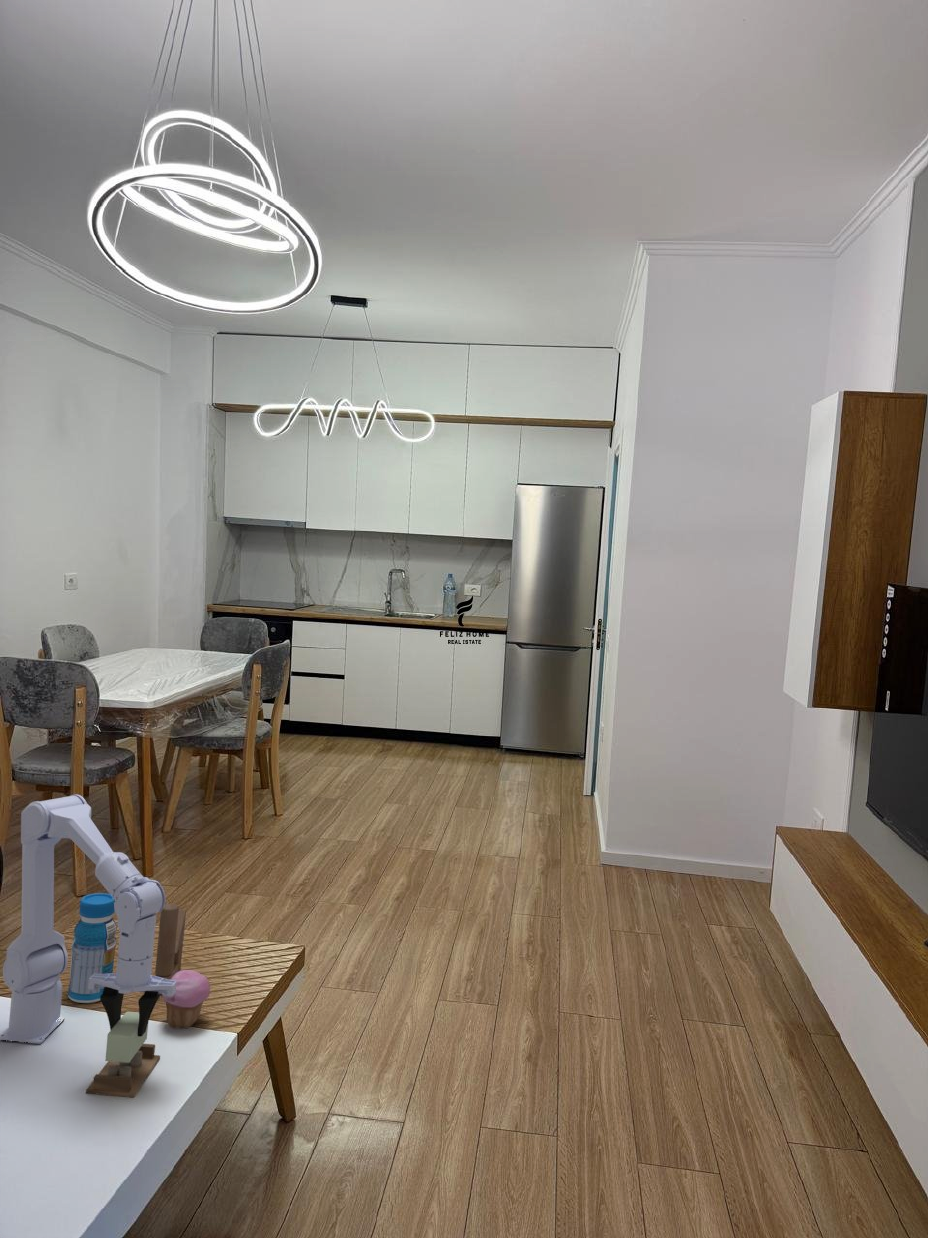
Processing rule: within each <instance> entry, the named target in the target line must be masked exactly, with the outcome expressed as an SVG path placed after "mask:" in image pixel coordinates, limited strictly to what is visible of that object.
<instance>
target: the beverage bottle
mask: <svg viewBox="0 0 928 1238" xmlns="http://www.w3.org/2000/svg"><path fill="white" fill-rule="evenodd" d="M114 902H116V901H115V900H114V898H113V897H112V896H111V895H110V893H104V892H97V893H91V894H86V895H84V896H83V897H81V899H80V902H79V913H78V914H79V917H80V919H79V920H78V922H77V923H76V925H75V926H74V929H73V931H72V932H73V937H74V939H73V940H72V943H71V947H70V948H71V957H70V967H69V969H70V970H69V971H70V972H69V982H68V989H67V996H68V997H67V998H68V999H70V1000H71V1001H72V1002H75V1003H79V1004H91V1003H96V1002H101V1001H100V996H101V995H102V994H103V989H100V988H95V989H94V990H90V989H88V983H89V978H90V977H91V976H92V975H93V974H110V973H113V972H114V963H115V953H116V947H117V938H116V936H115V935H116V934H117V931H118V927H117V923H116V921H115V919H114V918H113V916H114V914H115V909H114Z"/></svg>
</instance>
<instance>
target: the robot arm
mask: <svg viewBox="0 0 928 1238" xmlns="http://www.w3.org/2000/svg"><path fill="white" fill-rule="evenodd" d="M20 816H21V817H20V843H21V844H22V845H21V849H22V851H21V852H22V853H21V856H22V857H21V932H20V934H19V935H18V936H17V937H16V938H15V939H14V940H13V941H12V942H11V943H10V945H9V946H8V947H7V948H6V956H5V961H4V963H3V966H2V967H3V968H2V978H3V982H4V983H5V985H6V987H8V989H9V990H11V996H10V997H11V998H10V1007H9V1008H10V1010H9V1022H8V1028H6V1029H5V1030H4V1031H3V1032H2V1033H1V1034H0V1041H1V1040H6V1041H5V1042H8V1041H7V1040H10V1041H9V1042H12V1041H19V1042H18V1043H24V1042H25V1043H24V1044H26V1042H28V1043H27V1044H37V1045H39V1044H40V1045H41V1044H42V1043H43V1042H44V1041H45V1040H46V1039H47V1038H48V1037H49V1036H50V1035H51V1034H52V1033H53V1032H54V1031H55V1030H56V1029H57V1028H58V1027H59V1026H58V1024H59V1023H60V1022H61V1021H58V1020H59V1019H58V1018H59V1017H60V1016H61V1009H62V995H63V984H62V981H61V979H60V977H61V975H62V974H64V973H65V971H66V970H67V967H68V964H69V955H68V951H67V949H66V941H65V939H66V937H65V936H64V935H63V934H61V933H60V932H58V931H57V930H54V929H55V927H54V923H55V921H54V920H55V919H54V917H55V913H54V911H55V909H54V908H55V904H54V903H55V898H54V897H55V896H54V895H55V893H54V892H55V846H56V845H57V844H58V843H59V842H60V841H61V840H62V839H70V840H71V841H72V842H73V843H74V844H75V845H76V846H77V847H78V849H80V850H81V851H82V852H83V854H85V855H86V856H87V858H88V859H90V860H91V861H92V862H93V863H94V865H95V868H94V869H95V870H94V876H95V877H96V878H97V880H98V881H99V882H100V884H101V885H102V886H103V888H104V889H105V890H106V891H107V893H108V894H110V895H111V896H112V897H113V898H114V900H115V901H116V902H114V909H115V912H114V914H115V915H116V918H117V924H116V927H117V931H119V937H118V938H119V939H118V950H117V959H116V970H115V972H114V973H110V974H93V975H92V976H91V977H90V978H89V983H88V989H90V990H94V989H95V988H100V989H103V994H102V995H101V996H100V1001H99V1002H101V1004H102V1006H103V1008H104V1010H105V1013H106V1015H107V1020H108V1024H109V1031H111V1030H112V1028H113V1027H114V1026H115V1025H116V1024H117V1022H118V1021H119V1020H120V1019H121V1018H122V1008H123V1007H122V1005H123V1000H124V995H130V994H132V993H134V992H135V993H137V992H138V993H143V994H142V995H141V997H140V998H139V999H138V1002H137V1003H138V1004H137V1005H138V1011H139V1024H138V1036H140V1037H141V1036H143V1034H144V1033H145V1032H146V1028H147V1024H148V1025H149V1022H150V1019H151V1018H150V1017H151V1016H152V1013H153V1010H154V1008H155V1006H156V1004H157V1002H158V1000H159V999H160V997H161V996H162V994H166V996H171V997H172V996H173V995H174V993H175V992H176V985H177V981H174V980H168V979H164V978H161V977H157V976H155V975H153V974H152V970H153V958H154V957H153V956H154V945H155V935H156V924H157V914H159V913H161V910H162V909H163V907H164V905H165V904H166V894H165V890H164V887H163V886H162V884H161V883H160V882H159V881H157V880H155V879H150V878H149V877H146V876H144V875H142V874H141V872H140V871H139V870H138V869H137V867H136V866H135V865H134V863H132V861H131V860H130V858H129V857H128V856H127V854H125V853H124V852H120V851H118V852H115V851H113V849H112V848H111V846H110V845H109V843H108V842H107V841H106V839H105V838H104V836H103V835H102V833H101V832H100V830H99V829H98V828H97V826H96V824H95V823H94V822H93V820H92V807H91V806H90V805H89V804H88V802H87V801H86V799H85V798H84V797H83V796H82V795H80V794H76V793H75V794H70V795H69V796H63V797H58V798H53V799H46V800H41V801H38V800H37V801H35V800H34V801H31V802H30V803H29V804H28V805H27V806H26V807H24V809H23V810H22V811H21V814H20ZM57 1019H58V1020H57ZM56 1020H57V1022H56ZM60 1020H61V1019H60ZM57 1026H58V1027H57ZM56 1027H57V1028H56ZM55 1028H56V1029H55ZM54 1029H55V1030H54ZM53 1030H54V1031H53ZM52 1031H53V1032H52ZM51 1032H52V1033H51ZM50 1033H51V1034H50ZM49 1034H50V1035H49ZM48 1035H49V1036H48ZM47 1036H48V1037H47ZM46 1037H47V1038H46ZM45 1038H46V1039H45ZM11 1040H12V1041H11Z"/></svg>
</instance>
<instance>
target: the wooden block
mask: <svg viewBox="0 0 928 1238" xmlns="http://www.w3.org/2000/svg"><path fill="white" fill-rule="evenodd" d="M186 914H187V910H186V909H180V906H179V904H176V903H165V905H164V907H163V909H162V910H161V911H160V915H159V917H160V918H159V927H158V929H159V930H158V936H157V937H158V939H157V947H156V949H157V950H156V960H155V971H154V974H155V975H154V976H157V977H161V978H164V979H168V980H170V979H171V978H172V977H173V976H174V975H175V974H176V973H177V972H179V971H182V970H181V969H182V958H183V947H184V946H183V945H184V943H183V942H184V939H185V938H184V937H185V928H186V927H185V926H186Z"/></svg>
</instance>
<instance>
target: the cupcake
mask: <svg viewBox="0 0 928 1238" xmlns="http://www.w3.org/2000/svg"><path fill="white" fill-rule="evenodd" d="M170 980H174V981H177V985H176V992H175V993H174V995H173V996H172V997H171V996H166V994H161V996H162V1001H164V1002H165V1005H166V1022H167V1025H168V1026H169V1027H171V1028H176V1027H179V1028H178V1029H181V1028H182V1029H187V1028H189V1027H191V1026H193V1025H194V1024H195V1023H196V1022H197V1021H198V1019H199V1017H200V1013H201V1010H202V1006H203V1003H204V1001H205V1000H207V999H208V998H209V997H210V993H211V991H210V990H211V986H210V982H209V979H208V978H207V977H206V976H205V975H203V974H201V973H199V972H197V971H196V970H192V969H184V970H183V969H182V970H180V971H179V972H177V973H176V974H175V975H174V976H173V977H172V978H171V979H170Z"/></svg>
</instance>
